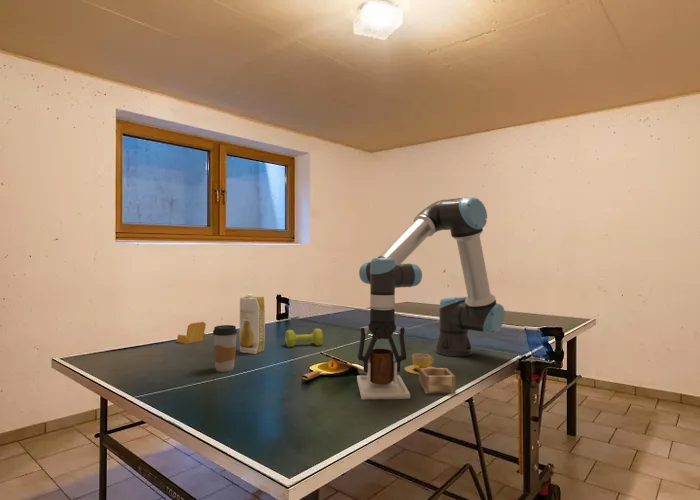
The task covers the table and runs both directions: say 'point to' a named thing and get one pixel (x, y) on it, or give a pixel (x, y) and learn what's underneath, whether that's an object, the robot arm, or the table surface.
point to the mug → (381, 366)
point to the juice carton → (252, 324)
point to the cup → (420, 362)
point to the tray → (382, 389)
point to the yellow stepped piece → (193, 333)
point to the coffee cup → (224, 347)
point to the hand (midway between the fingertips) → (381, 382)
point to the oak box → (436, 380)
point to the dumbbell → (304, 337)
